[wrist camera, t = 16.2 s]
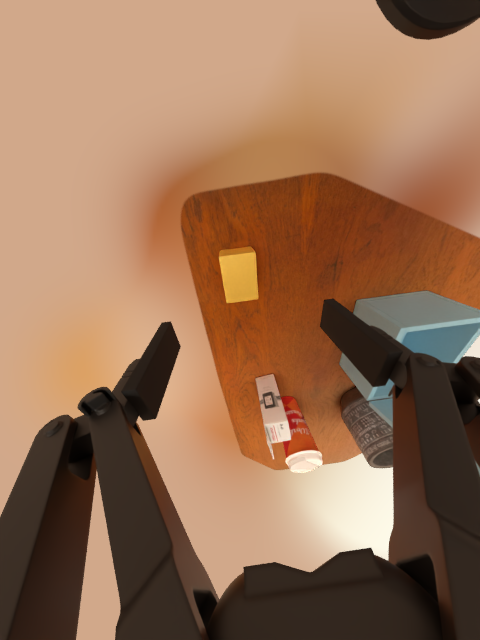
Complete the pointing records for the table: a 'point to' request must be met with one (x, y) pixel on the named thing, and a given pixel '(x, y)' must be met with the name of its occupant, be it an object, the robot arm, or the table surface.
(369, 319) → the cool box
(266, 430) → the ink box
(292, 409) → the coffee cup
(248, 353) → the table surface
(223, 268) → the block
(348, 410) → the planter
